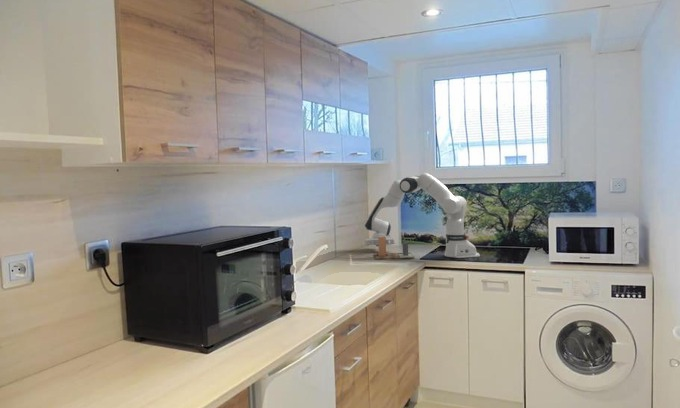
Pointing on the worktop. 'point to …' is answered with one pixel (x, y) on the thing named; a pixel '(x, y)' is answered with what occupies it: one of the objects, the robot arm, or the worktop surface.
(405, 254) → the grey upright piece
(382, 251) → the block
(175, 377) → the worktop surface
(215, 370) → the worktop surface
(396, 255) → the board
